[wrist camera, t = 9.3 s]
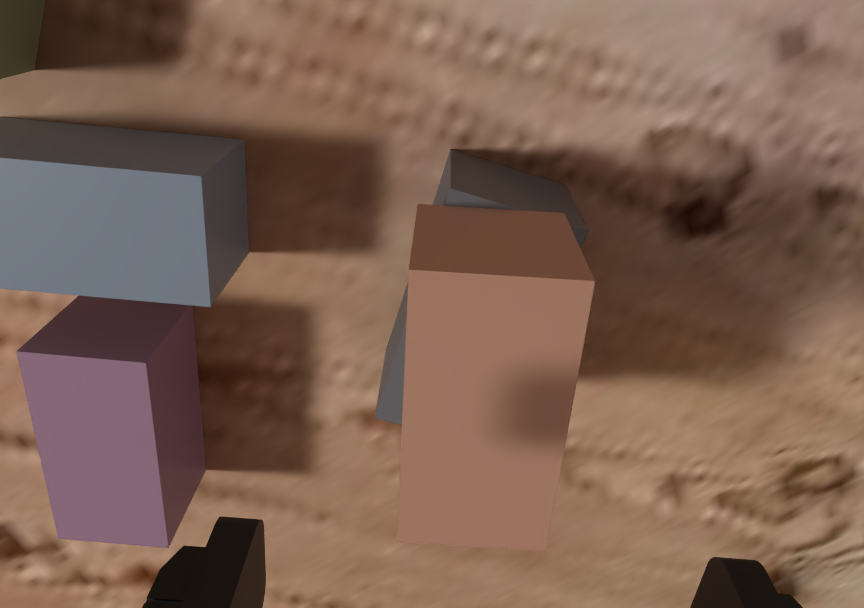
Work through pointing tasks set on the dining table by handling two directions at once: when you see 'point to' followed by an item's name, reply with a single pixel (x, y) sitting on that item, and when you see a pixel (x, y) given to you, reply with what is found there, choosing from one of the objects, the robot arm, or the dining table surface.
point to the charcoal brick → (477, 188)
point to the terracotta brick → (489, 374)
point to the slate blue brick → (120, 212)
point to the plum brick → (117, 418)
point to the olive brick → (19, 35)
